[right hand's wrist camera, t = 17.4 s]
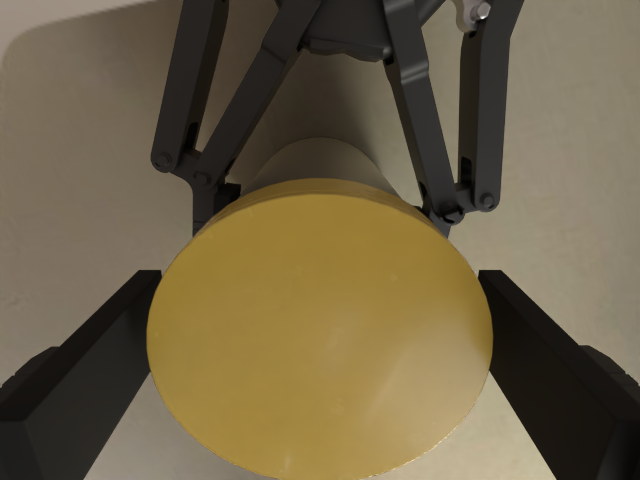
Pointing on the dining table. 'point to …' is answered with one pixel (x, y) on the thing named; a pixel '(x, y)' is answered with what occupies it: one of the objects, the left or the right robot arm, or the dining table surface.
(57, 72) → the dining table surface
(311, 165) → the jar
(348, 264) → the lid
